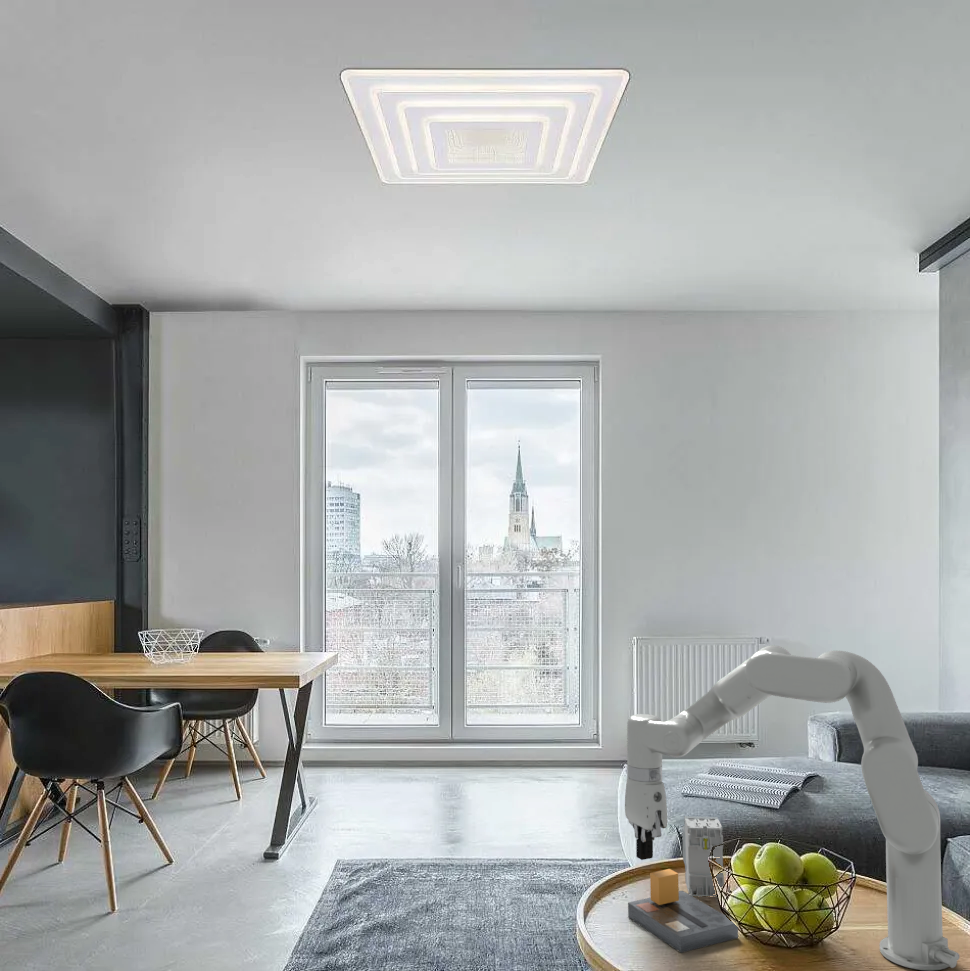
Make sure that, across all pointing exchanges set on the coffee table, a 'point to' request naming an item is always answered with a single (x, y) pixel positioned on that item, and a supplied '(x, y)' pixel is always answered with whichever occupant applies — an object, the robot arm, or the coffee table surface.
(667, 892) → the block
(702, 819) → the circuit breaker
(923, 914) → the robot arm
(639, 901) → the panel
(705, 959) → the coffee table surface
